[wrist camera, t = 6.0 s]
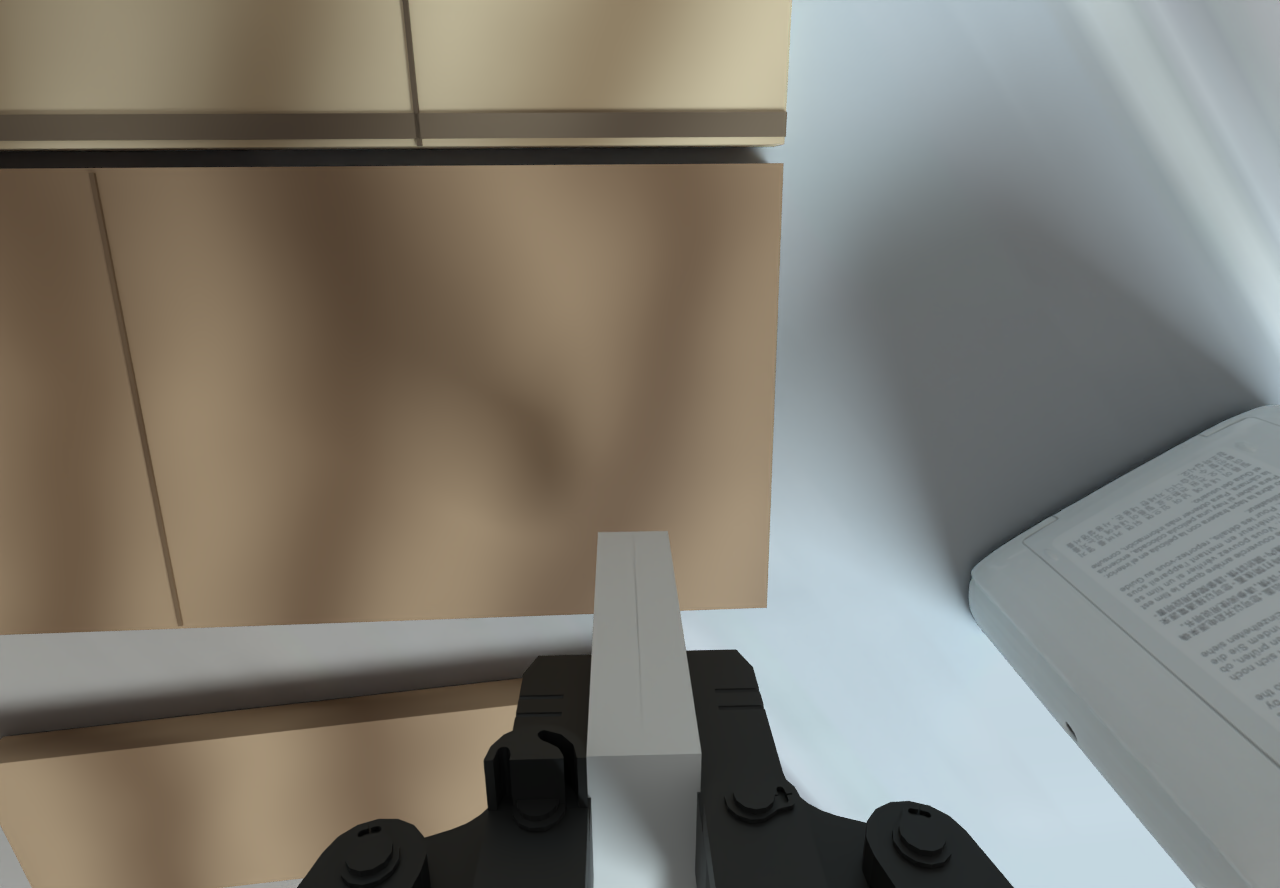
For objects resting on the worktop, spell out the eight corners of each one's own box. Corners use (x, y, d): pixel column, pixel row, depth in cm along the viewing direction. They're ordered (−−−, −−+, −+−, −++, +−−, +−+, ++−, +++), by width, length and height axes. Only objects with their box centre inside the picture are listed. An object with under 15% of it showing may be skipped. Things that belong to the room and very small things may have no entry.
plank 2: (69, 873, 24) (42, 908, 22) (3, 737, 22) (-30, 766, 21) (686, 802, 24) (690, 832, 23) (672, 661, 22) (676, 686, 21)
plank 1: (-65, 615, 19) (-109, 640, 18) (-193, 175, 17) (-256, 170, 15) (757, 587, 21) (767, 609, 19) (771, 168, 18) (784, 162, 16)
